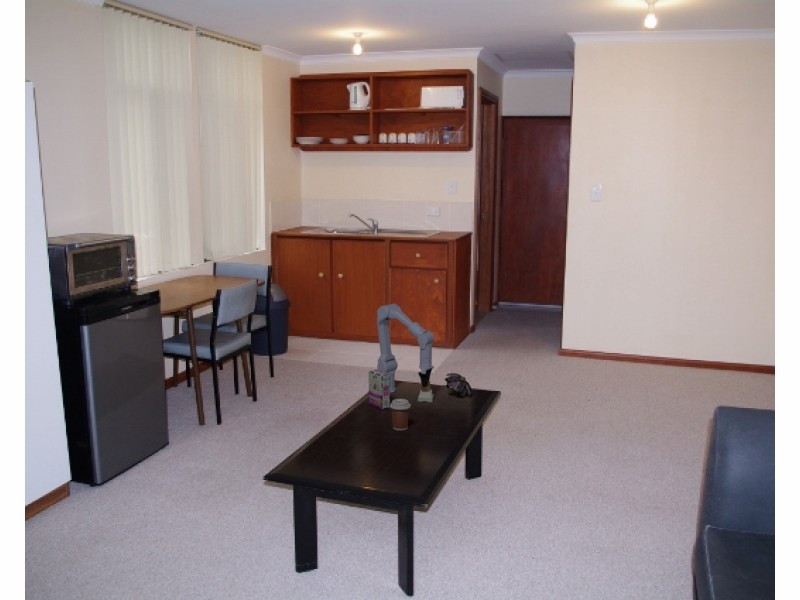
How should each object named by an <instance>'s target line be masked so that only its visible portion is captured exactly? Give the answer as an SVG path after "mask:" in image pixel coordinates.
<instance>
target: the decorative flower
mask: <svg viewBox="0 0 800 600" xmlns="http://www.w3.org/2000/svg"><path fill="white" fill-rule="evenodd" d="M445 376H446V377H445V378H444V381H445V382H446V384H445V386H446V388H447V389H448V390H447V391H446V392H447V393H448V395H449V394H450V395H453V394H457V395H459V396H460V398H461V399H463V398H464V397H465V396H466V394H467V393H468V398H470V397H472V395H473V391H472V387H471V386H472V385H470V383H469V381H468V380H467V379H466V377H465V376H462V375H461V374H460V373H456V372H452V373H451V372H450V373H447V374H445Z"/></svg>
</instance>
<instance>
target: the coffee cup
mask: <svg viewBox="0 0 800 600" xmlns="http://www.w3.org/2000/svg"><path fill="white" fill-rule="evenodd" d="M411 407H412V405H411V403H410V402H409V400H408V399H405V398H395V399H393V400H392V401H391V402H390V408H389V409H390V410H391V420H392V422H391V423H392V429H393V430H395V431H405V430H407V429H408V427H409V426H408V425H409V415H410V408H411Z"/></svg>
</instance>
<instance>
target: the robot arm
mask: <svg viewBox="0 0 800 600" xmlns="http://www.w3.org/2000/svg"><path fill="white" fill-rule="evenodd" d="M376 311H377V313H376V314H377V317H376V328H377V333H378V342H379V351H380V356H379V357H378V358H377V365H376V370H379V371H382V372H385V373H388V374H390V393H395V391H396V390H397V386H396V385H395V381H396V380H395V378H396V377H395V376H396V374H395V373H396V370H397V369H398V366H399V365H398V362H397V360H396V356H395V355H394V354H393V353H392V352H393V351H392V347H391V338H390V337H391V335H390V330H389V328H390V327H389V322H390V321H392V320H393V319H395V320H398V321H399V322H400V323H402V324H403V325H404V326H405V327H406V328H407V331H408V333H410V334H411V335H412V336H414V338H415V339H417V343H418V347H419V369H420V370H421V371H419V372H418V373H417V374H418V376H419V378H420V383H422V387H427V383H428V381H430V377H431V375H432V370H433V369H434V368H435V366H434V365H433V364H432V361H433V359H432V355H433V353H432V352H433V351H432V350H433V343H434V341H435V336H434V334H433V332H432V331H429V330H428V331H427V329H424V328H423V327H422V326H421V324H420V323H419V322H413V321H412V320H411V319H410V318H409V317H408V316H407V315H406V314H405V313H404V312H403V311H402V308H401V306H399V305H398V304H397V303H391V304H386V305H382V306H380V307H379V308H378V309H377V310H376ZM395 386H396V387H395Z"/></svg>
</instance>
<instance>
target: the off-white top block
mask: <svg viewBox="0 0 800 600" xmlns="http://www.w3.org/2000/svg"><path fill="white" fill-rule="evenodd" d="M419 394H420V397H427V398H431V397H432V394H433V389H432V388H430V391H428V392H423V391H421V389H420V390H419Z"/></svg>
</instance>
